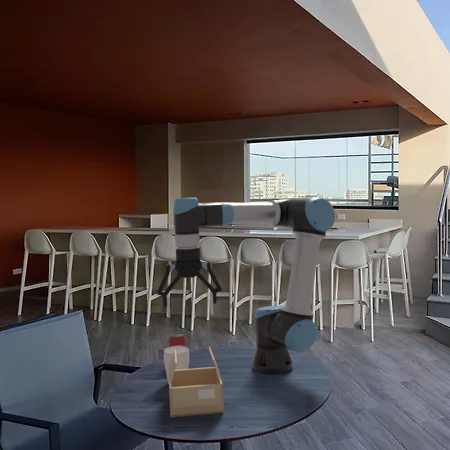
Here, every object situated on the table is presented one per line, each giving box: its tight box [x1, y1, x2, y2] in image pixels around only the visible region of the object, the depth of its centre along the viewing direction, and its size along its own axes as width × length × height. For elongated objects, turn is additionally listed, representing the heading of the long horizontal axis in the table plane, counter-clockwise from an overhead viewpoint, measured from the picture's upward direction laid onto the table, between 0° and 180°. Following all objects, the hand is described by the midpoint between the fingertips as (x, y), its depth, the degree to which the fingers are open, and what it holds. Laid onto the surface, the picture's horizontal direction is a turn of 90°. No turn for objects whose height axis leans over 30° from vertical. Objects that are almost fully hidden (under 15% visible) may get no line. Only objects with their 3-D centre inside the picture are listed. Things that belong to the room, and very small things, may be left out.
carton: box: [168, 366, 225, 419], centre depth 160 cm, size 16×16×9 cm
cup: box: [163, 346, 190, 385], centre depth 179 cm, size 9×9×12 cm
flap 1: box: [169, 349, 177, 384], centre depth 158 cm, size 1×14×6 cm, turn 8°
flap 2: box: [208, 346, 222, 380], centre depth 160 cm, size 1×14×6 cm, turn 7°
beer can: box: [168, 332, 187, 347], centre depth 198 cm, size 7×7×12 cm
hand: (190, 315), depth 158 cm, fingers open, 13 cm apart
